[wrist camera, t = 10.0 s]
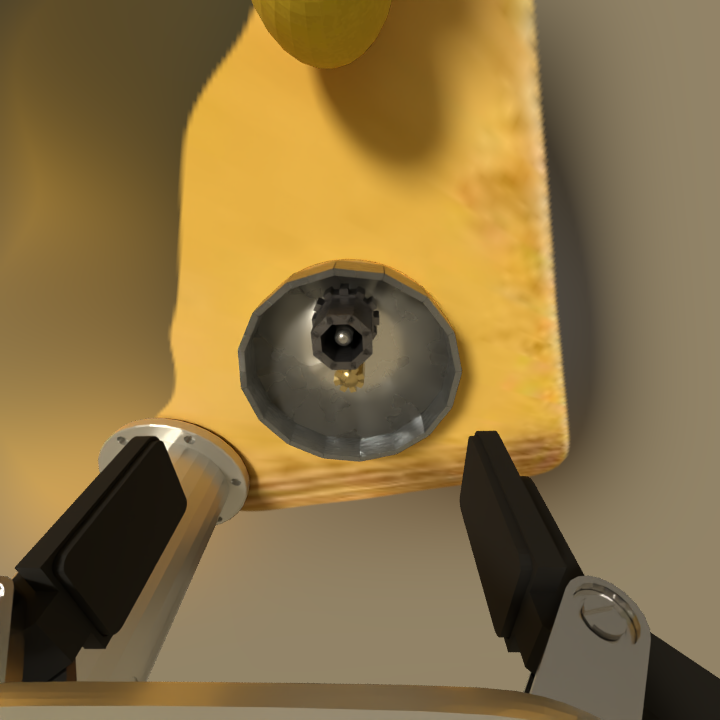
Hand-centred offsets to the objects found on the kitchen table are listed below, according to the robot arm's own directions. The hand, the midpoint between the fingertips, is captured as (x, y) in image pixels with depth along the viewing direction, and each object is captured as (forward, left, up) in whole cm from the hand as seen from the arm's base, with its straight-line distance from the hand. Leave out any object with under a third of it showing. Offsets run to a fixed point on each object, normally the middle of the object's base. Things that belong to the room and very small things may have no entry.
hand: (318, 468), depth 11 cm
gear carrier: (-3, -2, -14) cm, 14 cm away
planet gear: (0, 0, -13) cm, 13 cm away
